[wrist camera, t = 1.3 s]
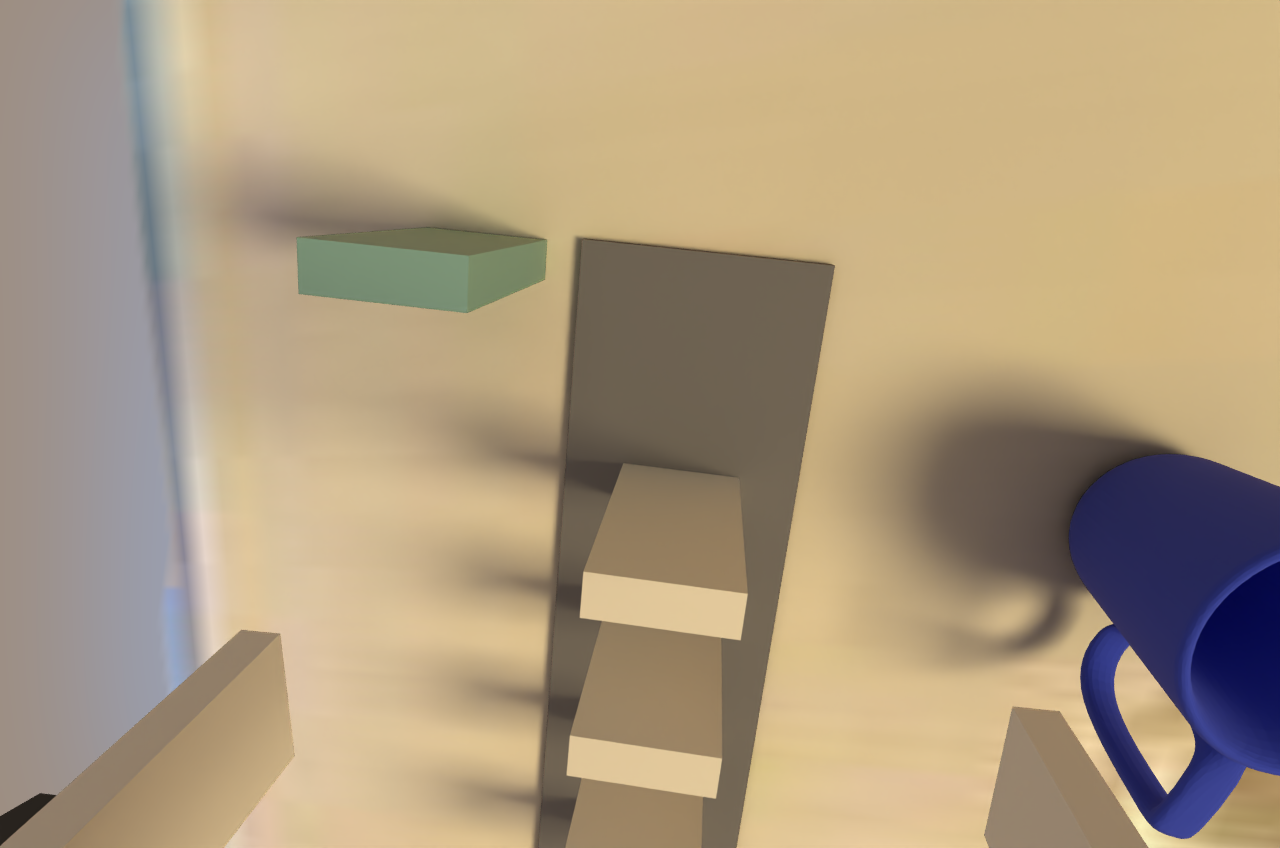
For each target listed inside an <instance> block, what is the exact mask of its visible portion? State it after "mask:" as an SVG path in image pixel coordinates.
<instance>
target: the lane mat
mask: <svg viewBox="0 0 1280 848" xmlns="http://www.w3.org/2000/svg"><path fill="white" fill-rule="evenodd" d="M834 268H835V266H834V265H829V264H819V263H810V262H800V261H791V260H781V259H772V258H762V257H753V256H743V255H734V254H724V253H715V252H705V251H696V250H686V249H677V248H667V247H658V246H648V245H639V244H629V243H620V242H610V241H601V240H591V239H582V247H581V261H580V275H579V288H578V302H577V316H576V330H575V344H574V358H573V372H572V386H571V400H570V414H569V427H568V441H567V455H566V469H565V483H564V497H563V511H562V525H561V539H560V553H559V566H558V580H557V594H556V608H555V622H554V636H553V650H552V664H551V678H550V692H549V705H548V719H547V733H546V747H545V761H544V775H543V789H542V803H541V817H540V831H539V844H538V848H565V847H566V842H567V838H568V834H569V830H570V826H571V821H572V817H573V813H574V809H575V805H576V800H577V796H578V792H579V788H580V784H581V779H582V778H580V777H573V776H567V764H568V752H569V740H570V733H571V730H572V726H573V723H574V719H575V715H576V712H577V708H578V705H579V701H580V698H581V694H582V690H583V687H584V683H585V680H586V676H587V673H588V669H589V665H590V662H591V658H592V655H593V651H594V648H595V644H596V640H597V637H598V633H599V630H600V626H601V623H602V621H599V620H592V619H585V618H580V607H581V595H582V583H583V571H584V569H585V566H586V563H587V561H588V558H589V555H590V552H591V550H592V547H593V544H594V542H595V539H596V536H597V533H598V531H599V528H600V525H601V523H602V520H603V517H604V514H605V512H606V509H607V506H608V504H609V501H610V498H611V495H612V493H613V490H614V487H615V485H616V482H617V479H618V476H619V474H620V471H621V468H622V465H623V463H626V464H634V465H642V466H650V467H658V468H666V469H674V470H682V471H690V472H698V473H706V474H714V475H722V476H729V477H737V478H739V484H740V498H741V511H742V524H743V537H744V550H745V564H746V577H747V590H748V596H747V602H746V609H745V615H744V622H743V628H742V635H741V640H734V639H727V638H721V659H722V763H721V770H720V776H719V782H718V789H717V795H716V799H715V798H708V797H703V807H702V845H701V848H736V847H737V841H738V835H739V829H740V823H741V817H742V811H743V806H744V800H745V794H746V788H747V782H748V776H749V770H750V764H751V758H752V752H753V747H754V741H755V735H756V729H757V723H758V717H759V711H760V705H761V699H762V693H763V687H764V682H765V676H766V670H767V664H768V658H769V652H770V646H771V640H772V634H773V628H774V622H775V617H776V611H777V605H778V599H779V593H780V587H781V581H782V575H783V569H784V563H785V557H786V552H787V546H788V540H789V534H790V528H791V522H792V516H793V510H794V504H795V498H796V492H797V487H798V481H799V475H800V469H801V463H802V457H803V451H804V445H805V439H806V433H807V428H808V422H809V416H810V410H811V404H812V398H813V392H814V386H815V380H816V374H817V368H818V363H819V357H820V351H821V345H822V339H823V333H824V327H825V321H826V315H827V309H828V303H829V298H830V292H831V286H832V280H833V274H834Z"/></svg>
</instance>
